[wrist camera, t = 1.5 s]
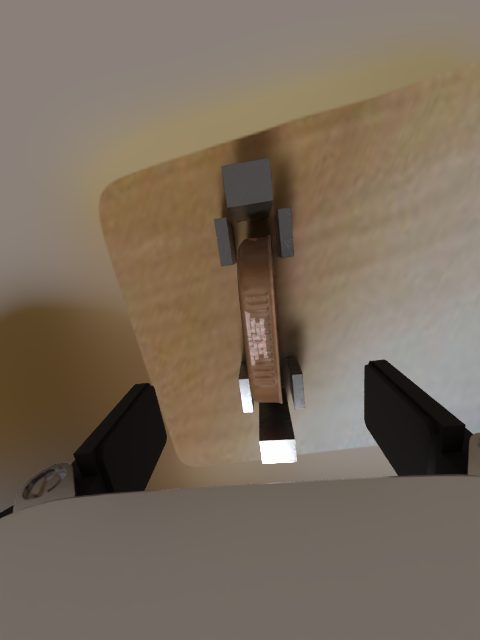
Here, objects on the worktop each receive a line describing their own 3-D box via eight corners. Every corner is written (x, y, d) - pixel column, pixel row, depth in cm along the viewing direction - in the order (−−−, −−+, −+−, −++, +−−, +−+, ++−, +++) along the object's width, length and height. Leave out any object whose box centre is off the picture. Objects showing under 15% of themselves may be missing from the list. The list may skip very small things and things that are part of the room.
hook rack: (282, 186, 22) (296, 152, 15) (300, 404, 28) (315, 461, 21) (217, 197, 23) (196, 170, 15) (248, 408, 29) (244, 464, 21)
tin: (281, 374, 28) (291, 425, 20) (254, 375, 28) (252, 426, 20) (271, 237, 24) (279, 229, 16) (240, 240, 24) (230, 235, 16)
